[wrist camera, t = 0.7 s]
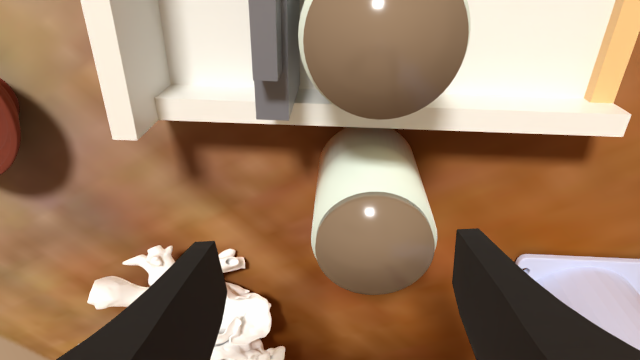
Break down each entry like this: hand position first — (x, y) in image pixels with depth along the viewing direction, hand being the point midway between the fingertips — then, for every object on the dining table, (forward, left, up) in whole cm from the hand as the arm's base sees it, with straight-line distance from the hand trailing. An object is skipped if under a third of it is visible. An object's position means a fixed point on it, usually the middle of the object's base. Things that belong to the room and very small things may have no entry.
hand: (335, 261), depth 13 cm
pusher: (+6, +2, -9) cm, 11 cm away
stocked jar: (+6, -1, -9) cm, 11 cm away
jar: (-2, -2, -10) cm, 11 cm away
